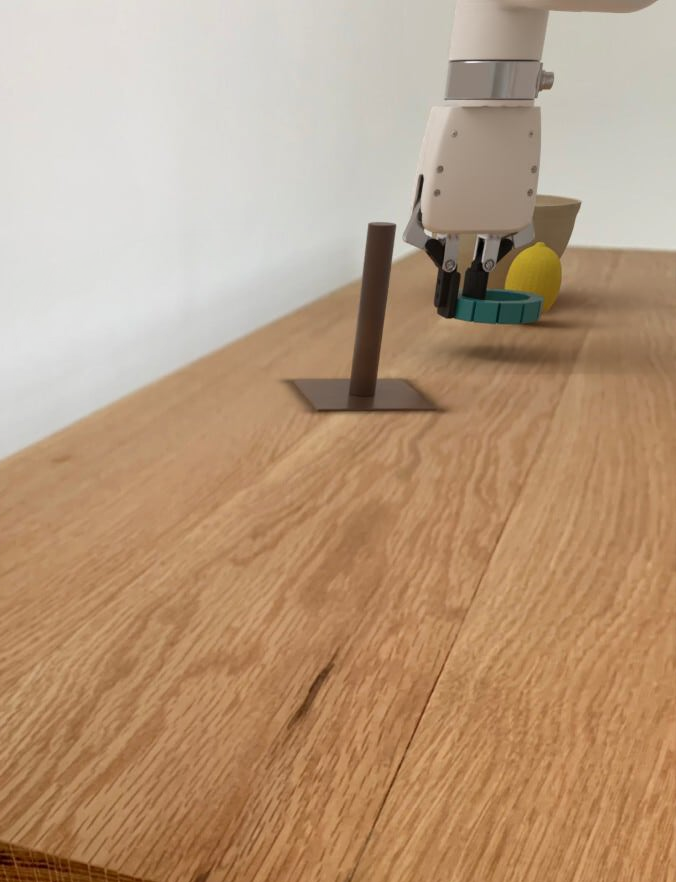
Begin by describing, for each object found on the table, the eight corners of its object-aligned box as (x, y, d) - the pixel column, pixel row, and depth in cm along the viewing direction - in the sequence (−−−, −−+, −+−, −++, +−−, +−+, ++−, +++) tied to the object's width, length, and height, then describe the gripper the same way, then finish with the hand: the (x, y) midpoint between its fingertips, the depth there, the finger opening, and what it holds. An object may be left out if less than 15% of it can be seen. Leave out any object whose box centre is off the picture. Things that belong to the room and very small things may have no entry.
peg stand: (399, 397, 91) (424, 216, 84) (433, 428, 83) (464, 231, 76) (291, 398, 90) (307, 216, 83) (315, 429, 82) (335, 231, 75)
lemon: (552, 330, 115) (569, 246, 111) (497, 326, 117) (512, 243, 112) (552, 320, 120) (568, 240, 115) (499, 317, 121) (513, 237, 117)
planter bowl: (537, 289, 137) (556, 191, 131) (579, 314, 123) (602, 206, 117) (406, 287, 137) (420, 189, 132) (434, 311, 123) (450, 203, 118)
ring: (519, 307, 107) (522, 288, 106) (554, 323, 100) (558, 302, 99) (434, 308, 107) (437, 288, 106) (463, 324, 100) (466, 303, 99)
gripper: (561, 87, 98) (523, 308, 107) (387, 87, 97) (363, 310, 106) (599, 87, 91) (554, 322, 100) (412, 87, 90) (385, 324, 100)
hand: (457, 314), depth 103 cm, fingers closed on ring, 1 cm apart
